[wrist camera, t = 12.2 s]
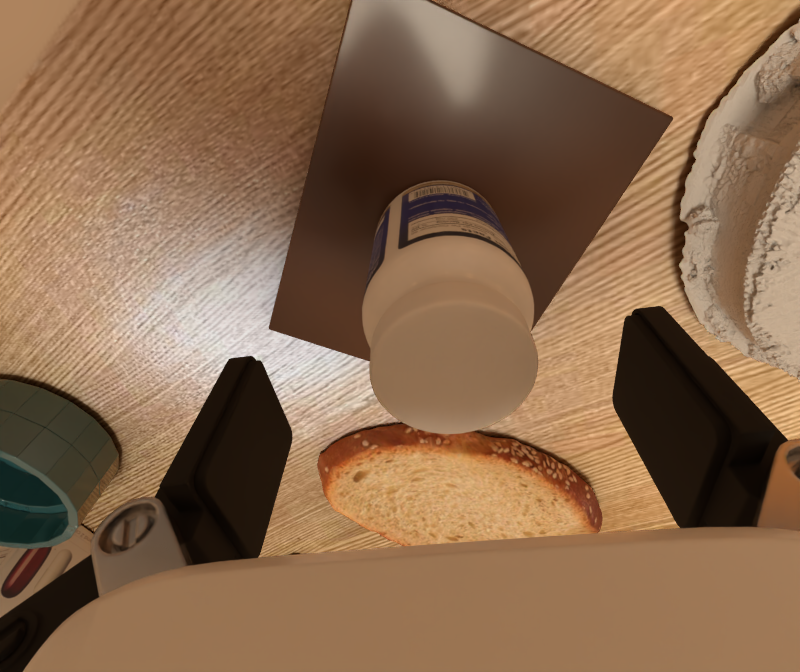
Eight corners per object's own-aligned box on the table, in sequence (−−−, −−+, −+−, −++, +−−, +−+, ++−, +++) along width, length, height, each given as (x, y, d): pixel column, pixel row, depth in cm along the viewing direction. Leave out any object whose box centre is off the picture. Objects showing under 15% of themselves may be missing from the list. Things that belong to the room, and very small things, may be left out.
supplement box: (191, 598, 43) (142, 719, 36) (96, 619, 47) (32, 734, 39) (53, 501, 35) (-51, 632, 27) (-52, 536, 38) (-170, 661, 31)
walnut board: (363, -31, 16) (359, -36, 15) (660, 113, 18) (675, 117, 17) (274, 317, 24) (268, 329, 23) (483, 385, 27) (486, 399, 26)
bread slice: (299, 445, 30) (286, 491, 27) (563, 373, 26) (583, 418, 23) (399, 573, 39) (397, 619, 36) (606, 536, 35) (624, 584, 32)
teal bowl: (-68, 351, 27) (-158, 409, 22) (123, 404, 29) (73, 465, 24) (-36, 463, 33) (-101, 525, 28) (121, 500, 35) (80, 563, 30)
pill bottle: (434, 314, 22) (444, 473, 14) (350, 239, 20) (304, 375, 12) (525, 240, 20) (601, 379, 12) (442, 146, 18) (462, 236, 10)
